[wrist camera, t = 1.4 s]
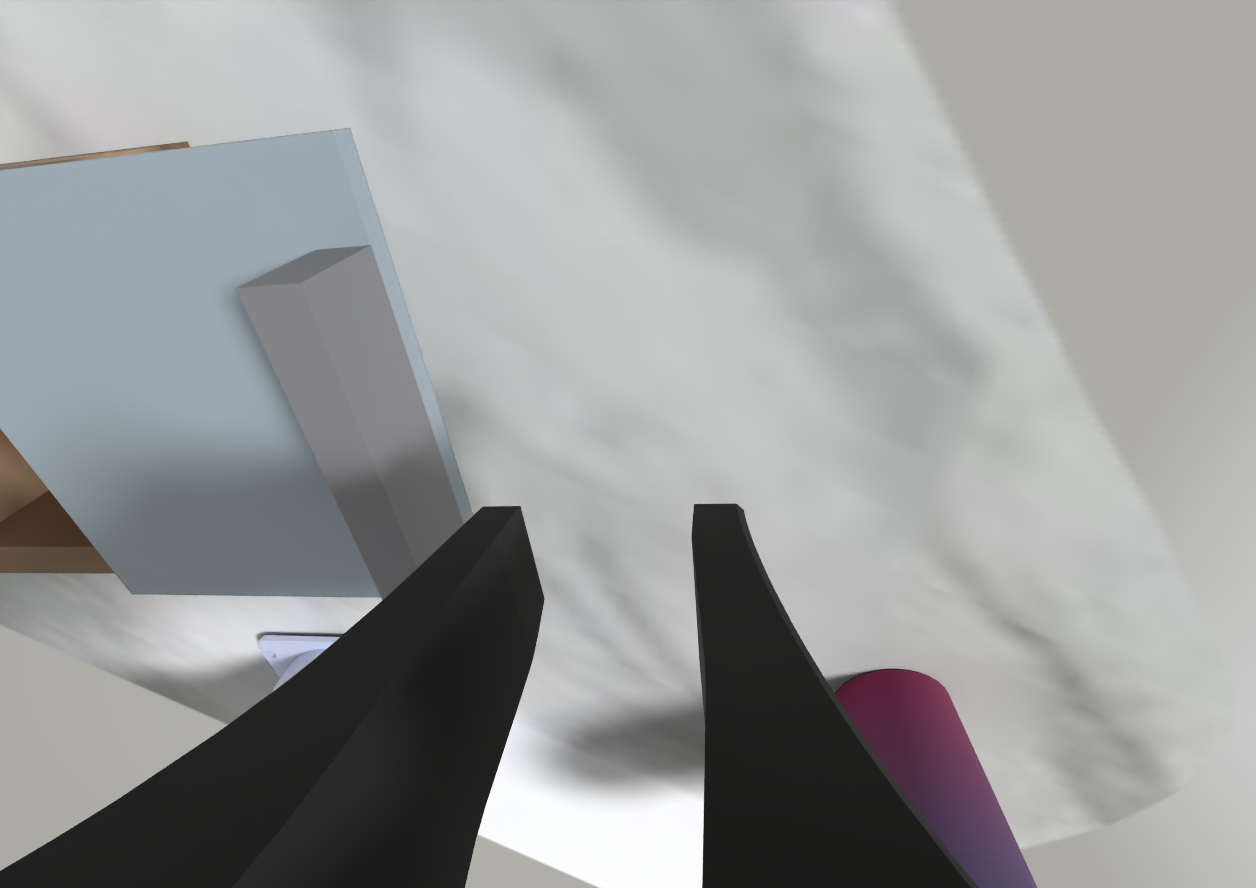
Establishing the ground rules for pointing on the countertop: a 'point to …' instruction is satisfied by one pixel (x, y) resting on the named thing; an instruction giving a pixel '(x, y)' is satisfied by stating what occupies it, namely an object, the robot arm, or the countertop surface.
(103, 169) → the lid
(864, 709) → the cup
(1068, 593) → the countertop surface
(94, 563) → the walnut box
